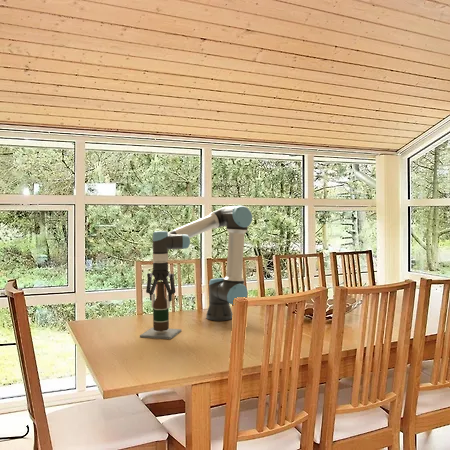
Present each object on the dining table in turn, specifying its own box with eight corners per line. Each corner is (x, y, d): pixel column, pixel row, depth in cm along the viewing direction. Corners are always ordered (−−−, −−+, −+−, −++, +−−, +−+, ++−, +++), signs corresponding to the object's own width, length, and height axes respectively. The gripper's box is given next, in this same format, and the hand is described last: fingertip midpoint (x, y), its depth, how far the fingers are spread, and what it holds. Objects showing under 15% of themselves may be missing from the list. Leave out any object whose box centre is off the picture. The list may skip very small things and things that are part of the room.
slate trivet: (181, 331, 246) (181, 329, 246) (170, 339, 230) (170, 337, 230) (152, 329, 249) (152, 327, 249) (139, 337, 234) (139, 335, 234)
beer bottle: (154, 331, 235) (153, 283, 234) (152, 328, 242) (151, 281, 242) (170, 330, 237) (169, 282, 236) (167, 327, 245) (167, 280, 244)
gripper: (182, 261, 240) (182, 306, 241) (144, 260, 245) (145, 305, 245) (177, 263, 233) (177, 309, 233) (138, 262, 237) (139, 308, 238)
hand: (160, 307), depth 239 cm, fingers closed on beer bottle, 7 cm apart
